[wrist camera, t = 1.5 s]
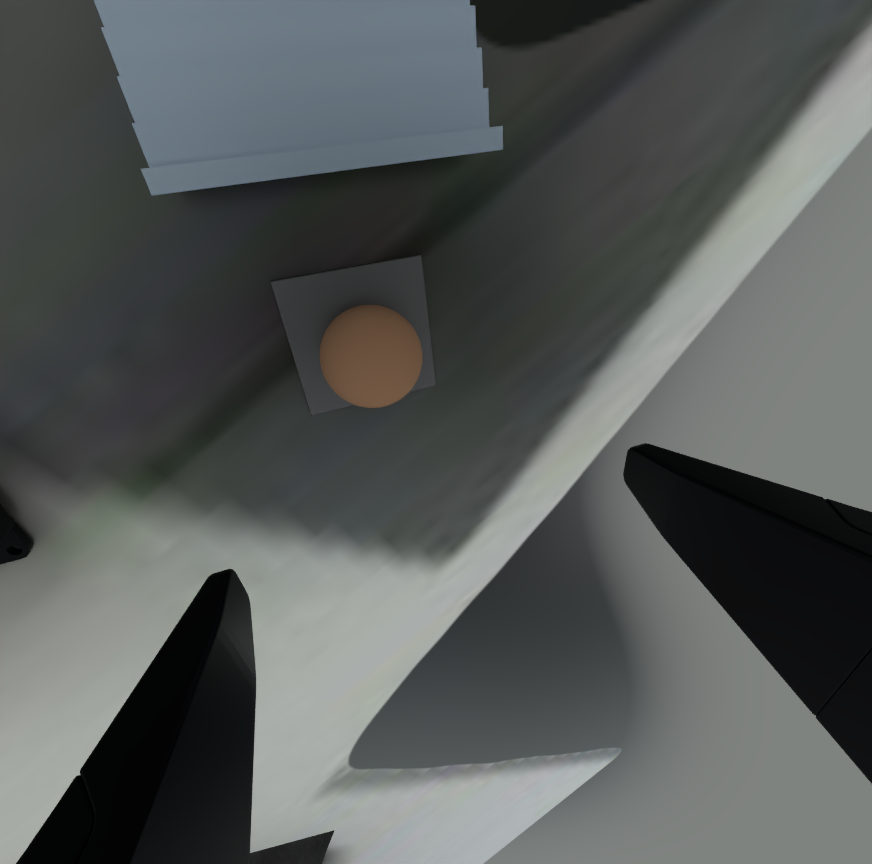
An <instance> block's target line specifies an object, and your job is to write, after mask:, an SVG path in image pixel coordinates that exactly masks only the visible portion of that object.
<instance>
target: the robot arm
mask: <svg viewBox="0 0 872 864" xmlns="http://www.w3.org/2000/svg"><path fill="white" fill-rule="evenodd" d="M623 474H624V475H623V476H624V481H625V483H626V485H627V486H628V488H629V489H630V491H631V492H632V493H633V495H634V496H635V498H636V499H637V501H638V502H639V504H640V505H641V507H642V508H643V509H644V511H645V512H646V514H647V515H648V516H649V518H650V519H651V521H652V522H653V524H654V525H655V527H656V528H657V530H658V531H659V532H660V534H661V535H662V536H663V537H664V539H665V540H666V541H667V542H668V543H669V545H670V546H671V547H672V548H673V549H674V551H675V552H676V553H677V554H678V555H679V557H680V558H681V559H682V560H683V561H684V562H685V564H686V565H687V566H688V567H689V568H690V570H691V571H692V572H693V573H694V574H695V575H696V576H697V578H698V579H699V580H700V581H701V582H702V584H703V585H704V586H705V587H706V588H707V589H708V591H709V592H710V593H711V594H712V596H713V597H714V598H715V599H716V600H717V601H718V603H719V604H720V605H721V606H722V607H723V608H724V610H725V611H726V612H727V613H728V614H729V615H730V617H731V618H732V619H733V620H734V621H735V623H736V624H737V625H738V626H739V627H740V628H741V630H742V631H743V632H744V633H745V634H746V635H747V637H748V638H749V639H750V640H751V641H752V643H753V644H754V645H755V646H756V647H757V648H758V650H759V651H760V652H761V653H762V654H763V656H765V658H766V659H767V660H768V662H769V663H770V664H771V665H772V666H773V667H774V669H775V670H776V671H777V672H778V673H779V674H780V676H781V677H782V678H783V679H784V680H785V682H786V683H787V684H788V685H789V686H790V687H791V689H792V690H793V691H794V692H795V693H796V695H797V696H798V697H799V698H800V699H801V700H802V702H804V704H805V705H806V706H807V707H808V709H809V710H810V711H811V712H812V713H813V714H814V715H816V718H817V720H818V721H819V722H820V723H821V724H822V726H823V727H824V728H825V729H826V730H827V731H828V733H829V734H830V735H831V736H832V737H833V738H834V740H835V741H836V742H837V743H838V744H839V746H840V747H841V748H842V749H843V750H844V751H845V753H846V754H847V755H848V756H849V757H850V759H851V760H852V761H853V762H854V763H855V764H856V766H857V767H858V768H859V769H860V770H861V772H862V773H863V774H864V775H865V776H866V777H867V779H868V780H869V781H870V782H871V783H872V512H869V511H866V510H863V509H859V508H855V507H852V506H848V505H846V504H842V503H839V502H836V501H833V500H829V499H823V497H819V496H816V495H813V494H810V493H807V492H803V491H800V490H797V489H794V488H790V487H787V486H784V485H780V484H777V483H773V482H770V481H768V480H764V479H761V478H758V477H754V476H751V475H748V474H744V473H741V472H738V471H735V470H731V469H728V468H725V467H722V466H719V465H715V464H712V463H709V462H706V461H702V460H699V459H696V458H693V457H689V456H686V455H683V454H680V453H676V452H673V451H670V450H667V449H664V448H660V447H657V446H654V445H650V444H646V443H645V444H640V445H637V446H634V447H631V448H630V449H629V450H628V452H627V456H626V462H625V468H624V473H623ZM33 545H34V543H33V541H32V540H31V539H30V538H29V537H28V535H27V534H26V533H25V532H24V531H23V530H22V529H21V528H20V527H19V525H18V524H17V523H16V522H15V521H14V519H13V518H12V517H11V516H10V515H9V514H8V513H7V512H6V510H5V509H4V508H3V507H2V506H1V505H0V564H4V563H7V562H11V561H15V560H19V559H22V558H24V557H27V555H28V554H29V553H30V552H31V550H32V548H33ZM13 546H16V547H19V548H15V547H13ZM255 705H256V670H255V657H254V644H253V632H252V619H251V607H250V600H249V597H248V594H247V592H246V590H245V588H244V587H243V585H242V583H241V581H240V579H239V578H238V576H237V574H236V572H235V571H234V570H232V569H227V570H224V571H221V572H217V573H214V574H212V575H210V576H209V577H208V578H207V580H206V581H205V583H204V584H203V586H202V587H201V589H200V590H199V592H198V593H197V595H196V596H195V598H194V599H193V601H192V602H191V604H190V605H189V607H188V608H187V610H186V611H185V613H184V614H183V616H182V617H181V619H180V620H179V622H178V623H177V625H176V626H175V628H174V629H173V631H172V633H171V634H170V636H169V637H168V639H167V640H166V642H165V643H164V645H163V646H162V648H161V649H160V651H159V652H158V654H157V655H156V657H155V658H154V660H153V661H152V663H151V664H150V666H149V667H148V669H147V670H146V672H145V673H144V675H143V676H142V678H141V679H140V681H139V682H138V684H137V685H136V687H135V688H134V690H133V691H132V693H131V694H130V696H129V697H128V699H127V700H126V702H125V703H124V705H123V706H122V708H121V709H120V711H119V712H118V714H117V715H116V717H115V718H114V720H113V721H112V723H111V724H110V726H109V727H108V729H107V731H106V732H105V734H104V735H103V737H102V738H101V740H100V741H99V743H98V744H97V746H96V747H95V749H94V750H93V752H92V753H91V755H90V756H89V758H88V759H87V761H86V762H85V764H84V765H83V767H82V768H81V770H80V774H81V775H78V776H76V777H75V778H74V780H73V781H72V783H71V784H70V786H69V787H68V789H67V790H66V792H65V793H64V795H63V797H62V798H61V800H60V801H59V803H58V804H57V806H56V807H55V808H54V810H53V811H52V813H51V814H50V816H49V817H48V819H47V820H46V822H45V823H44V824H43V826H42V827H41V829H40V830H39V832H38V833H37V835H36V836H35V838H34V839H33V840H32V842H31V843H30V845H29V846H28V848H27V849H26V851H25V852H24V853H23V855H22V856H21V858H20V859H19V860H18V862H17V863H16V864H249V861H250V835H251V809H252V783H253V757H254V731H255Z"/></svg>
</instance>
